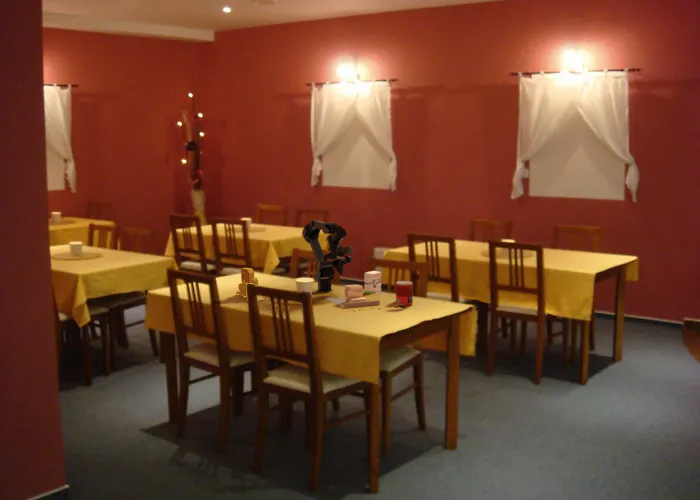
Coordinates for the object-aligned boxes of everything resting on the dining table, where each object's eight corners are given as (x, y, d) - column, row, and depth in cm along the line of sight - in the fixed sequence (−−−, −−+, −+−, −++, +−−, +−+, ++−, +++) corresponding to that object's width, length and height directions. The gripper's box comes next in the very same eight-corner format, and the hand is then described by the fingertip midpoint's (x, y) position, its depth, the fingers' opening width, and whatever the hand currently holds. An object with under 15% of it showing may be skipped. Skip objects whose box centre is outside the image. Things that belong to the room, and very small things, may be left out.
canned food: (411, 307, 357) (411, 284, 356) (394, 306, 359) (394, 283, 357) (413, 303, 365) (413, 281, 363) (397, 302, 366) (397, 280, 365)
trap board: (324, 301, 371) (324, 298, 371) (358, 297, 378) (358, 294, 378) (338, 308, 355) (338, 305, 355) (373, 304, 362) (373, 301, 362)
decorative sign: (263, 300, 373) (263, 270, 371) (258, 301, 371) (258, 271, 369) (241, 294, 388) (240, 265, 386) (236, 295, 386) (235, 266, 384)
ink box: (371, 296, 381) (371, 273, 379) (363, 295, 384) (363, 272, 382) (381, 294, 388) (381, 271, 386) (373, 292, 391) (373, 270, 389)
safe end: (338, 308, 355) (338, 301, 354) (373, 304, 362) (373, 297, 362) (344, 311, 349) (344, 303, 348) (379, 307, 356) (379, 300, 355)
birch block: (344, 302, 362) (344, 285, 361) (358, 300, 364) (358, 284, 363) (353, 306, 353) (353, 289, 352) (366, 304, 355) (366, 288, 354)
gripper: (336, 237, 370) (343, 267, 365) (357, 242, 385) (364, 270, 380) (318, 245, 375) (325, 274, 370) (340, 250, 390) (347, 278, 386)
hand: (341, 274), depth 377 cm, fingers closed
